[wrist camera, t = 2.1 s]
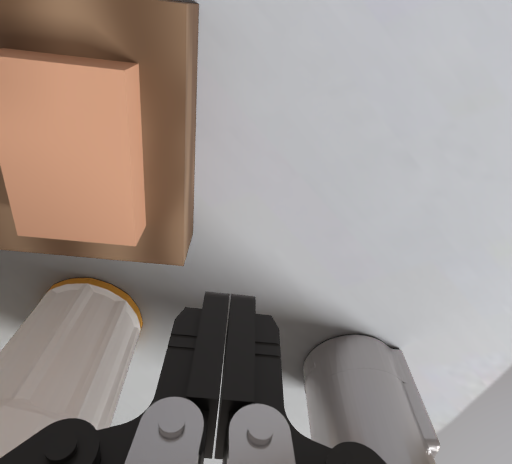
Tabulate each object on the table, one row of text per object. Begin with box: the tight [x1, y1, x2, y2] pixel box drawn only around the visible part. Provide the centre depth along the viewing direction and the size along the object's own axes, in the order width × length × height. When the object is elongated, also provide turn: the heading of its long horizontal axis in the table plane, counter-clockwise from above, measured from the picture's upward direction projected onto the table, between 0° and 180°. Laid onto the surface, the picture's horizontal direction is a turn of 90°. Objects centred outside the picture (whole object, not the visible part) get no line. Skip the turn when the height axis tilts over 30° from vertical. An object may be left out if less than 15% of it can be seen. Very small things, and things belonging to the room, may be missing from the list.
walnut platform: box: [0, 0, 199, 266], centre depth 25 cm, size 16×16×4 cm
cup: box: [0, 278, 143, 458], centre depth 28 cm, size 11×11×17 cm
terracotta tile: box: [0, 48, 146, 246], centre depth 22 cm, size 7×10×2 cm
